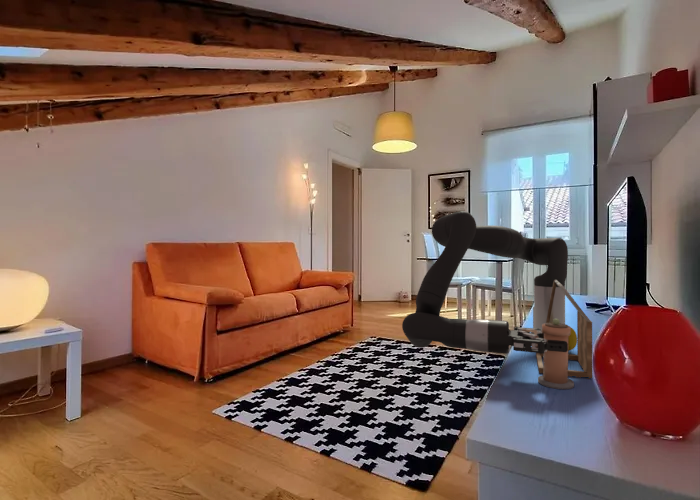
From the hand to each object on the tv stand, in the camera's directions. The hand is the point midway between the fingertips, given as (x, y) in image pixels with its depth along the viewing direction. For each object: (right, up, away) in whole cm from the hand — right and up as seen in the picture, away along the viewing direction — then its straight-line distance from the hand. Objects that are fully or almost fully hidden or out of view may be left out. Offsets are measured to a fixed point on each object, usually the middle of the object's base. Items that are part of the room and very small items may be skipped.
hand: (565, 342), depth 84 cm
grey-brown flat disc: (-2, -9, +1) cm, 10 cm away
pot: (-2, -9, +1) cm, 9 cm away
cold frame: (+7, -9, +13) cm, 17 cm away
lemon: (+15, -9, +26) cm, 31 cm away
